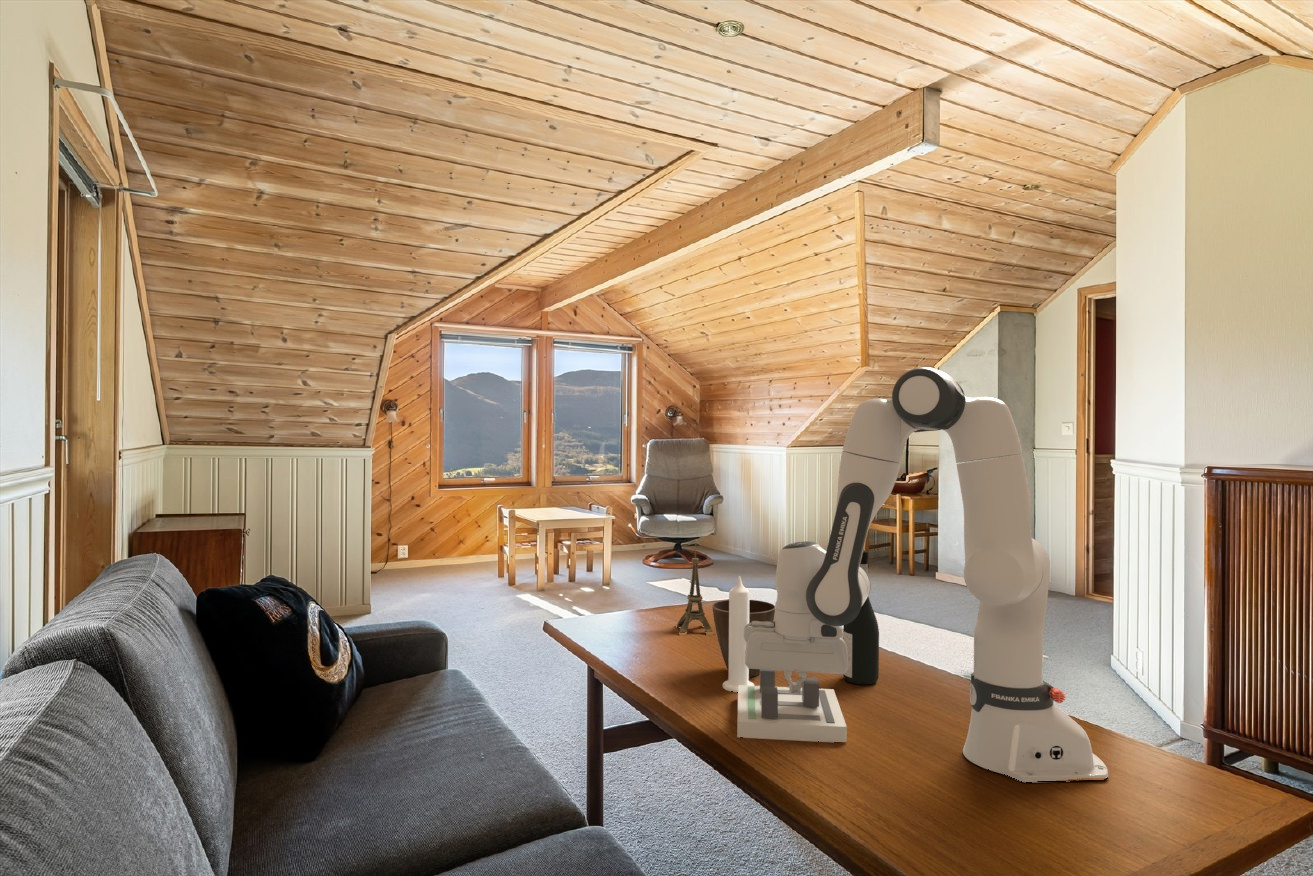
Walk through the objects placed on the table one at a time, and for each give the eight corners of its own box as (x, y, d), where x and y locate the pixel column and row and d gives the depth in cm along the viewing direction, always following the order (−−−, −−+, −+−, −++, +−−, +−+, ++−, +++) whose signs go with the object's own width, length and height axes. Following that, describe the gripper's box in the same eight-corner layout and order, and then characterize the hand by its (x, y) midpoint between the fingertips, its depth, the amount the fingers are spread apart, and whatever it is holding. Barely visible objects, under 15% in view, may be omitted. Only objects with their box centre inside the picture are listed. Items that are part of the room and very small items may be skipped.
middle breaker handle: (817, 699, 154) (817, 677, 154) (819, 706, 150) (819, 684, 150) (801, 699, 154) (802, 677, 154) (803, 706, 150) (803, 683, 150)
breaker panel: (833, 703, 162) (833, 688, 162) (846, 743, 141) (846, 725, 141) (738, 699, 164) (738, 684, 164) (737, 737, 143) (737, 720, 143)
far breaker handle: (774, 686, 162) (774, 665, 162) (774, 692, 158) (775, 671, 158) (759, 685, 162) (759, 665, 162) (760, 692, 158) (760, 670, 158)
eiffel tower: (710, 626, 227) (711, 541, 227) (715, 635, 217) (716, 547, 216) (674, 626, 226) (675, 541, 226) (678, 635, 216) (679, 547, 216)
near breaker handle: (776, 710, 148) (777, 687, 148) (777, 717, 144) (777, 694, 144) (761, 709, 148) (761, 686, 148) (761, 717, 144) (761, 693, 144)
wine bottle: (841, 684, 174) (842, 552, 174) (843, 673, 182) (844, 547, 182) (878, 687, 172) (879, 554, 172) (878, 677, 180) (880, 549, 180)
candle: (753, 694, 167) (754, 579, 167) (720, 691, 169) (721, 578, 168) (755, 683, 174) (756, 574, 174) (724, 681, 176) (725, 572, 175)
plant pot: (704, 678, 178) (705, 609, 177) (720, 660, 192) (720, 597, 192) (768, 686, 173) (769, 615, 173) (779, 667, 187) (780, 601, 187)
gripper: (744, 624, 150) (742, 694, 150) (851, 630, 148) (848, 701, 148) (744, 616, 156) (742, 684, 156) (846, 622, 154) (844, 690, 154)
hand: (794, 692), depth 152 cm, fingers closed
